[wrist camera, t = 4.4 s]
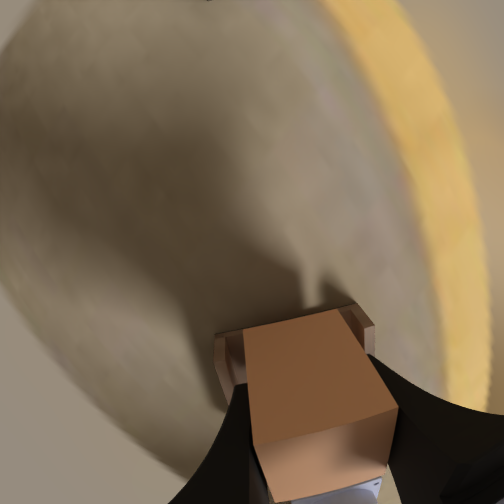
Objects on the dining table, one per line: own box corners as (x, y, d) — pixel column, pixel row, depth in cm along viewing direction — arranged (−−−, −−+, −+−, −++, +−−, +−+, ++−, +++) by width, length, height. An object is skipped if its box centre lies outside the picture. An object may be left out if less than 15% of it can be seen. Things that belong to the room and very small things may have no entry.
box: (358, 395, 17) (370, 420, 15) (243, 422, 17) (245, 449, 15) (357, 303, 15) (374, 325, 13) (214, 334, 15) (213, 361, 13)
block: (341, 377, 14) (384, 474, 8) (260, 396, 14) (275, 502, 8) (336, 308, 13) (398, 406, 7) (242, 329, 13) (253, 444, 7)
